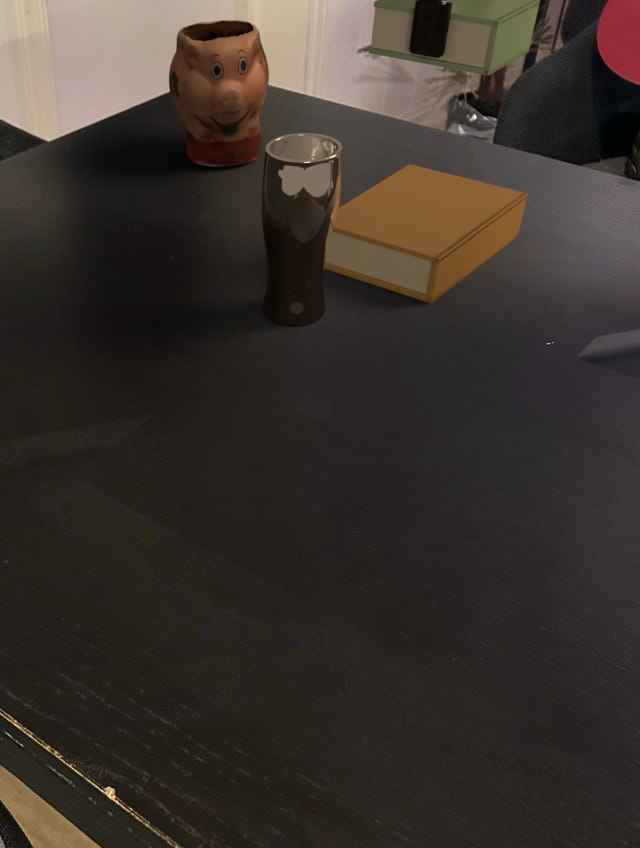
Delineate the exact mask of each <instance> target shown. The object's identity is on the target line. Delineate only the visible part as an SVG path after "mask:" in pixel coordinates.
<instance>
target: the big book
mask: <svg viewBox="0 0 640 848" xmlns="http://www.w3.org/2000/svg"><path fill="white" fill-rule="evenodd" d="M528 195H529V193H527V192H524V191H520V190H516V189H512V188H507V187H504V186H500V185H495V184H492V183H488V182H483V181H479V180H475V179H472V178H467V177H464V176H459V175H455V174H451V173H447V172H443V171H439V170H435V169H431V168H426V167H422V166H420V165H415V164H411V163H410V164H408V165H406V166H404V167H402V168H401V169H400V170H398V171H396V172H394V173H393V174H391V175H390V176H388V177H386V178H384V179H383V180H382V181H380V182H379V183H377V184H375V185H373V186H372V187H370V188H369V189H367V190H365V191H363V192H362V193H361V194H358V195H357V196H355V197H354V198H353V199H351V200H350V201H347V202H346V203H344V204H343V205H340V206H339V210H338V216H337V221H336V225H335V230H334V234H333V237H332V241H331V245H330V249H329V252H328V256H327V260H326V264H325V269H324V270H328V271H331V272H334V273H335V274H340V275H343V276H345V277H348V278H351V279H355V280H358V281H361V282H364V283H367V284H370V285H373V286H376V287H380V288H381V289H385V290H389V291H391V292H395V293H398V294H401V295H404V296H407V297H410V298H413V299H416V300H419V301H423V302H425V303H428V304H432V303H434V302H436V301H437V300H438V299H439V298H440V297H442V296H443V295H445V294H446V293H447V292H448V291H449V290H451V289H452V288H453V287H454V286H456V285H457V284H458V283H460V282H461V281H462V280H464V279H465V278H466V277H468V276H469V275H470V274H472V273H473V272H474V271H475V270H477V269H478V268H479V267H480V266H482V265H483V264H484V263H486V262H487V261H488V260H490V259H491V258H493V256H494V255H496V254H498V252H500V251H501V250H502V249H504V248H505V247H506V246H507V245H509V244H511V242H513V241H514V240H515V239H516V238H518V236H519V232H520V229H521V224H522V220H523V216H524V213H525V208H526V204H527V201H528Z"/></svg>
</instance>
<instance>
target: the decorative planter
mask: <svg viewBox="0 0 640 848" xmlns="http://www.w3.org/2000/svg"><path fill="white" fill-rule="evenodd" d="M261 40H262V39H261V35H260V31H259V29H258V27H257V26H256V25H255V24H254V23H253V22H250V21H246V20H242V19H223V20H221V19H220V20H214V21H202V22H196V23H192V24H190V25H186V26H183V27H181V28H180V29H179V30H178V32H177V35H176V45H175V46H176V49H175V53H174V55H173V57H172V59H171V63H170V66H169V72H168V87H169V89H168V90H169V93H170V94H169V95H170V99H171V101H172V103H173V106H174V108H175V110H176V113H177V116H178V120H179V122H180V124H181V128H182V131H183V134H184V138H185V151H186V154H187V156H188V157H189V159H190V160H191V161H192V162H194V163H195V164H198V165H202V166H205V167H230V166H237V165H243V164H246V163H250V162H252V161H254V160H256V159H257V158H258V157H259V154H260V152H261V148H262V142H263V140H262V134H261V124H260V111H261V107H262V106H263V104H264V102H265V100H266V96H267V91H268V88H269V83H270V69H269V63H268V59H267V55H266V53H265V50H264V47H263V45H262V41H261Z"/></svg>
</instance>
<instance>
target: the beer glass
mask: <svg viewBox="0 0 640 848" xmlns="http://www.w3.org/2000/svg"><path fill="white" fill-rule="evenodd" d="M264 154H265V155H264V162H263V163H264V165H263V173H262V180H261V182H262V185H261V202H260V203H261V210H260V212H261V213H260V214H261V225H262V226H261V227H262V233H263V241H264V242H263V243H264V248H265V256H266V264H267V265H266V266H267V282H266V286H265V287H266V288H265V291H264V296H263V302H262V306H261V311H262V314H263V316H264V317H265V318H266V319H268V320H269V321H270V322H272V323H275V324H278V325H281V326H289V327H298V326H305V325H309V324H312V323H315V322H317V321H318V320H319V319H321V318H322V317H323V315H324V314H325V311H326V305H325V304H326V303H325V293H324V275H325V270H326V269H325V264H326V260H327V256H328V252H329V249H330V245H331V241H332V237H333V234H334V230H335V225H336V221H337V216H338V210H339V208H340V203H341V201H340V200H341V189H342V158H343V157H342V156H343V155H342V154H343V145H342V143H341V142H340V140H338V139H336V138H335V137H332V136H331V135H326V134H321V133H312V132H299V133H298V132H297V133H289V134H285V135H284V134H283V135H280V136H278V137H275V138H273V139H272V140H271V139H270V140H269V142H267V144H266V145H265V153H264Z"/></svg>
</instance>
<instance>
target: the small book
mask: <svg viewBox="0 0 640 848" xmlns="http://www.w3.org/2000/svg"><path fill="white" fill-rule="evenodd" d="M415 2H416V1H415V0H375V1H374V2H373V7H374V15H373V23H372V31H371V32H372V34H371V43H370V47H369V48H368V54H371V55H377V56H382V57H387V58H393V59H398V60H404V61H409V62H414V63H418V64H425V65H430V66H436V67H440V68H447V69H452V70H456V71H461V72H462V71H463V72H466V73H467V72H468V73H472V74H478V75H483V76H490V75H492V74H494V73H495V72H498V71H499V70H501V69H502V68H505V67H506V66H507V65H510V64H512V63H513V62H515V61H516V60H519V58H522V57H524V56H525V55H526V54H529V52H530V47H531V43H532V38H533V35H534V30H535V26H536V21H537V16H538V13H539V7H540V3H541V0H448V1H447V2H450V3H452V9H451V15H450V22H449V28H448V34H447V40H446V46H445V52H444V55H443V56H441V57H439V58H433V57H428V56H422V55H417V54H412V53H411V52H410V51H409V46H410V38H411V31H412V24H413V16H414V9H415Z"/></svg>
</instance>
